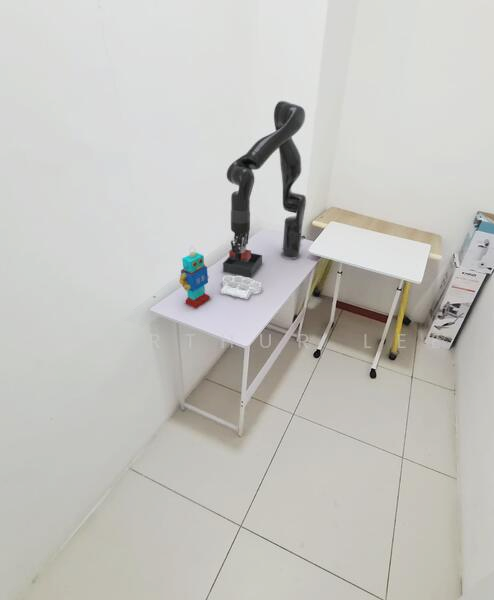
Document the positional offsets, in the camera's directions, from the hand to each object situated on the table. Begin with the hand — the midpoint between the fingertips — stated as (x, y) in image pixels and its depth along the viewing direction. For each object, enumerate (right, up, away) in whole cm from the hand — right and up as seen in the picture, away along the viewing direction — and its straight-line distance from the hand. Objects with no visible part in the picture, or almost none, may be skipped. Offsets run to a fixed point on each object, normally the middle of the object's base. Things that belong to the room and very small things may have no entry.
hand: (240, 257), depth 141 cm
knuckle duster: (-1, -13, +8) cm, 16 cm away
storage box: (-2, -2, +24) cm, 24 cm away
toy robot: (-18, -19, -1) cm, 26 cm away
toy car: (0, -1, 0) cm, 1 cm away
